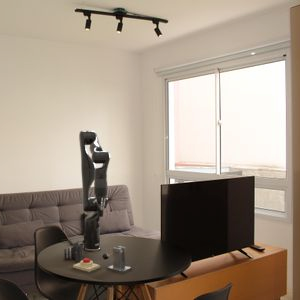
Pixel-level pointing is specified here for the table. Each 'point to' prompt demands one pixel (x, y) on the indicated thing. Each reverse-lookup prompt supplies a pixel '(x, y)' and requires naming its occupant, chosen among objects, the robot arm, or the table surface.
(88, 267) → the button block
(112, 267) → the base
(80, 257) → the camera
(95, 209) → the robot arm
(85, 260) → the button
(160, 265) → the table surface
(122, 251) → the lever handle
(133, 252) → the table surface
